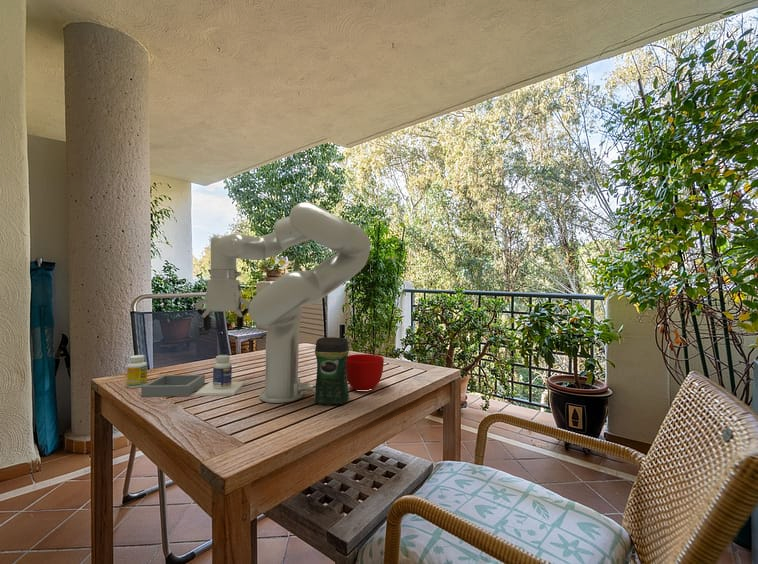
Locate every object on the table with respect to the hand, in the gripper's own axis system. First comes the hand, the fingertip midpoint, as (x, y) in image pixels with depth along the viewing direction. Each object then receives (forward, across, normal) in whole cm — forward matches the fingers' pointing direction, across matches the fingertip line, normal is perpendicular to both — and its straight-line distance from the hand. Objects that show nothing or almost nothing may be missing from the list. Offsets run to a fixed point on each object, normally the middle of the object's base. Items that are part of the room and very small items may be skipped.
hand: (223, 329), depth 113 cm
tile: (+19, +1, 0) cm, 19 cm away
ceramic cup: (+20, -44, -1) cm, 49 cm away
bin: (+19, +15, 0) cm, 24 cm away
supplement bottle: (+19, +29, -5) cm, 35 cm away
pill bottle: (+18, 0, 0) cm, 18 cm away
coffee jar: (+20, -34, +13) cm, 42 cm away
